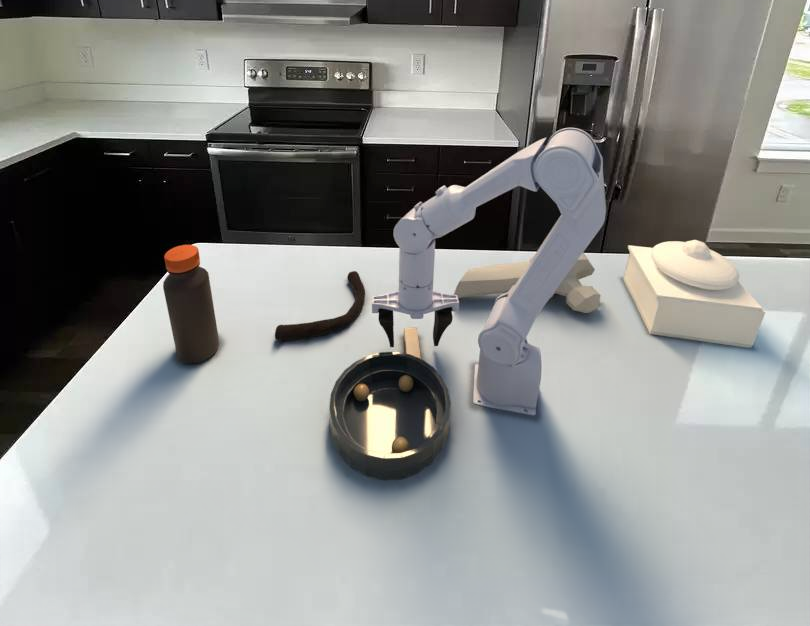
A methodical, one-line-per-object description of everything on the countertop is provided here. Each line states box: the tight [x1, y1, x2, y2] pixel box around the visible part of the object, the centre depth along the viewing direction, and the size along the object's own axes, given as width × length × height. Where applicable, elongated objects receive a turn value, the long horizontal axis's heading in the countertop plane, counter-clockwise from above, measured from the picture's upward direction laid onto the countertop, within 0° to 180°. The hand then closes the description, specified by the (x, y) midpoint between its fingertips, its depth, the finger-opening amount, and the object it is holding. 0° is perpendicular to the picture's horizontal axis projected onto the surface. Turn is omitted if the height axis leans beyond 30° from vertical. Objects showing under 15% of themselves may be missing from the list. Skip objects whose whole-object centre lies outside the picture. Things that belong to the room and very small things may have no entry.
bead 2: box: [399, 375, 414, 392], centre depth 68 cm, size 2×2×2 cm
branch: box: [274, 270, 366, 342], centre depth 84 cm, size 23×10×3 cm, turn 147°
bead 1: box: [354, 384, 369, 401], centre depth 66 cm, size 2×2×2 cm
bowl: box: [328, 351, 452, 481], centre depth 63 cm, size 17×17×4 cm
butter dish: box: [623, 239, 766, 349], centre depth 86 cm, size 18×18×16 cm
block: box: [403, 327, 422, 359], centre depth 75 cm, size 8×2×2 cm, turn 4°
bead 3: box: [392, 437, 409, 453], centre depth 58 cm, size 2×2×2 cm
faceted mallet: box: [453, 251, 601, 314], centre depth 89 cm, size 30×14×11 cm, turn 88°
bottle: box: [162, 244, 220, 365], centre depth 72 cm, size 7×7×20 cm
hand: (413, 342), depth 75 cm, fingers open, 7 cm apart
